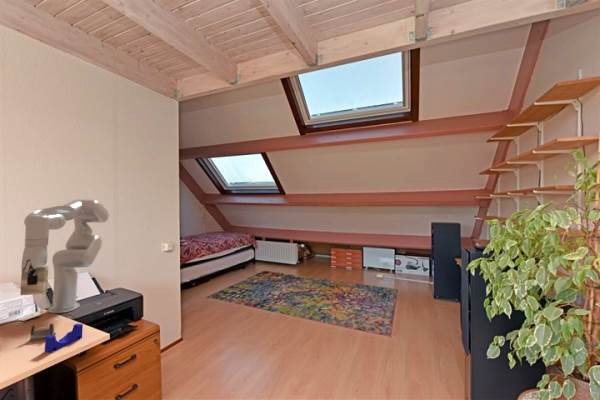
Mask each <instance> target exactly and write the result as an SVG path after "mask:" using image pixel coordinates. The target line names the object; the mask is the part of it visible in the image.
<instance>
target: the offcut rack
mask: <svg viewBox="0 0 600 400" xmlns="http://www.w3.org/2000/svg"><path fill="white" fill-rule="evenodd" d="M35 327H36V325H35V324H33V325H31V327H30V338H29V342H36V341H38V342H39V341H45V337H46V336H48V335H53V336H56V335H57V332H55V326H54V323H50V324H49V326H40V327H37V328H35Z"/></svg>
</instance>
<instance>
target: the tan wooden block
mask: <svg viewBox="0 0 600 400" xmlns="http://www.w3.org/2000/svg"><path fill="white" fill-rule="evenodd" d="M31 269H33V267H31ZM24 271H25V269H24V270H23V269H21V275H20V277H21V279H20V296H30V295H31V296H33V295H34V296H35V295H44V294H46V293H47V292H48V286H49V285H48V282H49V281H48V280H49V265H45V266H41V267H39V268H37V274H36V275H37V284H36V285H27V277H28V276H27V273H25V272H24ZM31 271H33V272H34V270H31Z"/></svg>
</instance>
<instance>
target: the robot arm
mask: <svg viewBox="0 0 600 400" xmlns="http://www.w3.org/2000/svg"><path fill="white" fill-rule="evenodd" d="M109 217H110V215H109V211H108V209H107V208H106V207H105V206H104V205H103V204H102V203H101V202H100V201H98V200H96V199H82V198H81V199H80V198H79V199H74V200H72V201H69V202H67V203H64V204H62V205H57V206H51V207H45V208H41V209H36V210H34V211H33V212H31V213H29V214H27V215H26V216H25V218H24V222H23V223H24V225H25V232H24V234H25V235H24V236H25V237H24V248H23V251H22V258H21V270H22V269H23V270H24V269H25V271H24V272H25V273H27V276H28V277H27V285H36V284H37V275H36V274H37V268H39V267H41V266H47V263H48V246H49V235H50V233H49V232H50V231H51V230H54V231H55V230H60V229H62V228H63V227H64V226H65V225H66V222H67V221H71V220H73V222H74V229H73V232H72V233H71V235H70V236H69V238H68V240H67V241H66V243H65V249H61V250H58V251H56V252H55V253H54V254H53V255H52V265H53V266H52V267H53V273H54V274H53V289H52V290H53V291H52V306H50V307H49V308H48V310H47V311H48V313H49V314H62V313H63V314H64V313H67V312H71V311H75V310H77V309H78V308H79V307H80V306H81V305H80V303H79V302H77V299H78V293H77V292H78V272H77V270H76V269H77V268H81V269H82V268H89V267H90V266H91V265H93V263H94V261H95V259H96V257H97V256H98V254H99V252H100V250H101V247H102V244H103V243H102V238H101V236H99V235H98V234H96V235H95V234H93V229H92V228H91V226H90V225H89V224H88V223H94V224H95V223H99V224H101V223H105V222H107V221H108V220H109ZM31 267H33V269H31ZM75 268H76V269H75ZM31 270H34V272H33V271H31Z"/></svg>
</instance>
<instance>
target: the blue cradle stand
mask: <svg viewBox="0 0 600 400" xmlns="http://www.w3.org/2000/svg"><path fill="white" fill-rule="evenodd" d="M83 326H84V324H83V323H75V324H73V327H72V329H71V331H68V332H67V333H66V334H65V335H64V336H63V337H62V338H60V339H58V340H57V338H56V335H55V336H53V335H48V336H46V337H45V340H44V352H45V353H48V354H52V353H53V352H56V351H58V350H60V349H62V348H64V347H67V346H68V345H71V344H73V343H74V342H76V341H79V340H81V339H83ZM80 338H81V339H80ZM78 339H79V340H78Z"/></svg>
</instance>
